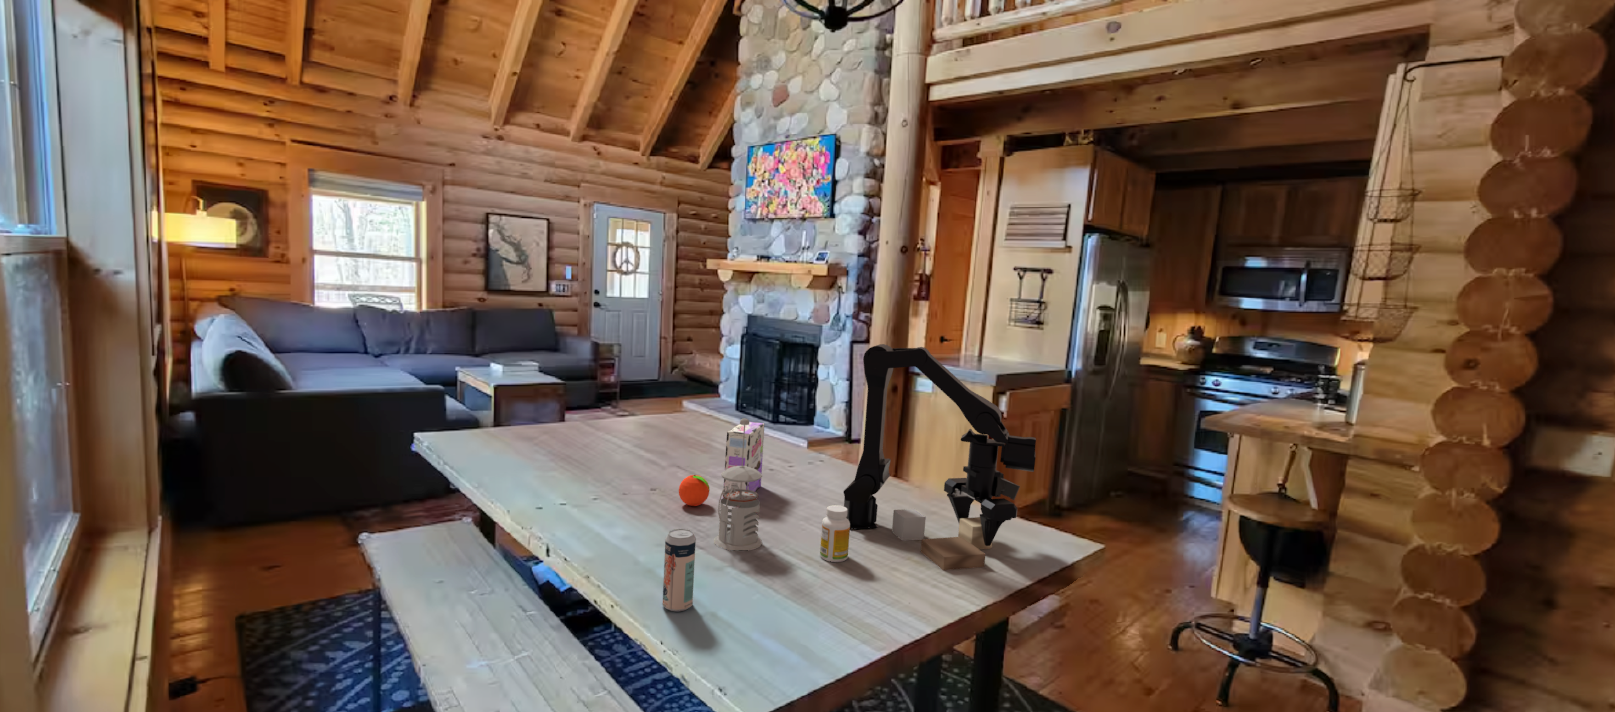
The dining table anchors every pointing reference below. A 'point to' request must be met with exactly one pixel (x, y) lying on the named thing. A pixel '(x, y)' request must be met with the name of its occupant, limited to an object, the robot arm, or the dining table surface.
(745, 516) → the french press
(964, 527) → the maple cube
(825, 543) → the supplement bottle
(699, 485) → the clementine
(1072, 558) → the dining table surface
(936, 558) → the walnut block
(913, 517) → the grey cube
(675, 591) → the beer can
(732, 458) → the candy box
